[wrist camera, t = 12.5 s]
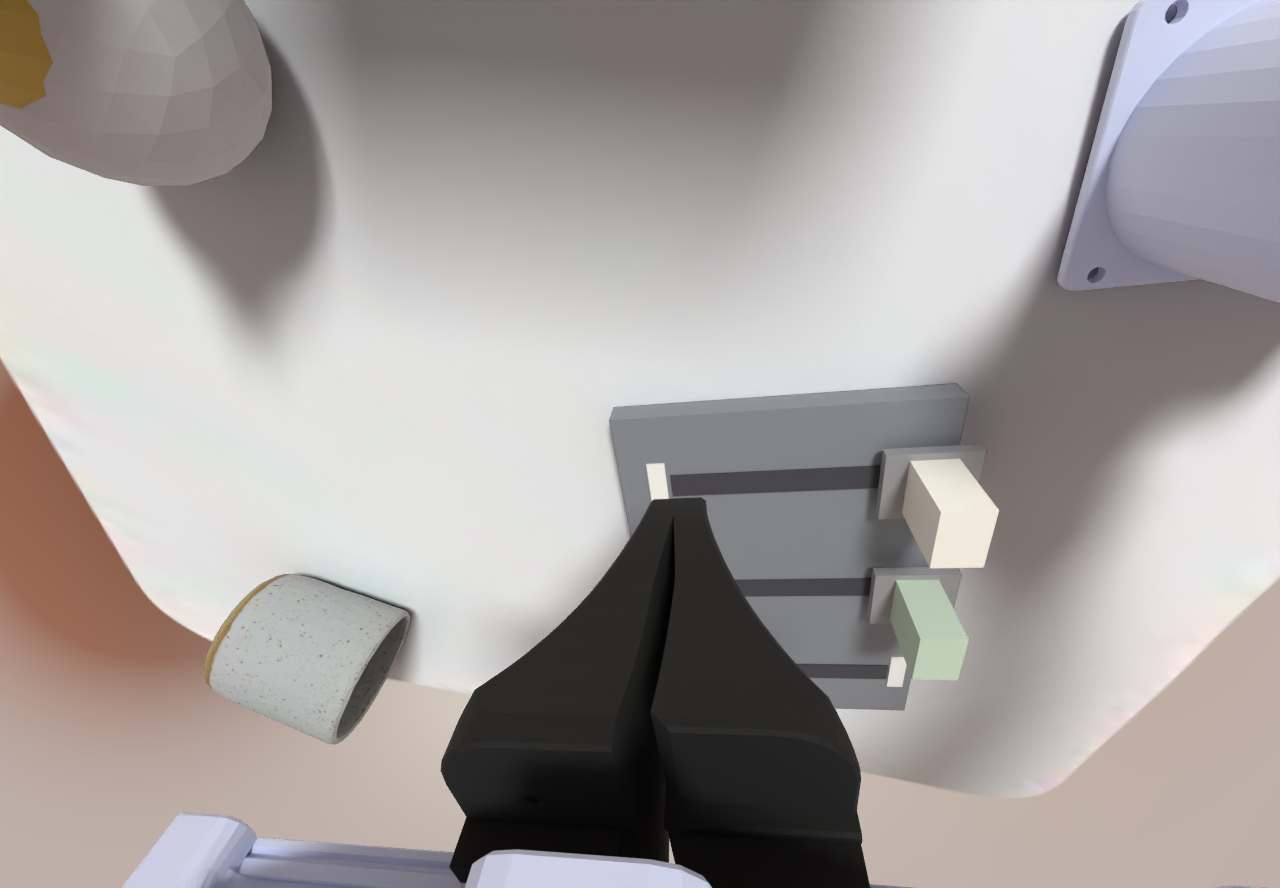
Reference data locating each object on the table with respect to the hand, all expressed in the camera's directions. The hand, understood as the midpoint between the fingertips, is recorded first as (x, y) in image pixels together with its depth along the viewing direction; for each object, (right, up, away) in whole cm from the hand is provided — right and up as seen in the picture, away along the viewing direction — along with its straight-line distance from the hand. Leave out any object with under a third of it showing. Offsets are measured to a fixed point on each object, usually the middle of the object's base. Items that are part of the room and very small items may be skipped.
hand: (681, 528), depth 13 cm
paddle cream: (+11, +1, +8) cm, 13 cm away
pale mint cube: (+12, -5, +11) cm, 17 cm away
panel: (+6, -4, +14) cm, 15 cm away
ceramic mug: (-19, -9, +20) cm, 29 cm away
